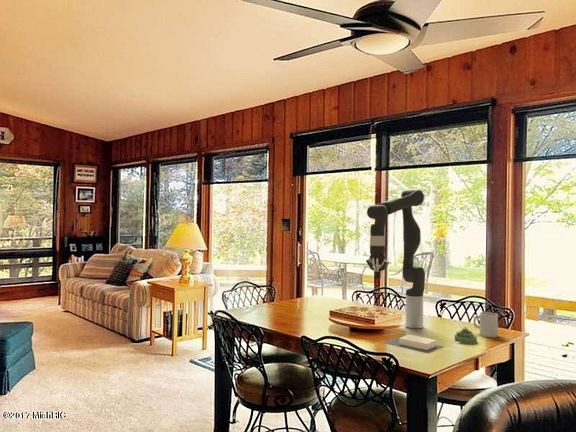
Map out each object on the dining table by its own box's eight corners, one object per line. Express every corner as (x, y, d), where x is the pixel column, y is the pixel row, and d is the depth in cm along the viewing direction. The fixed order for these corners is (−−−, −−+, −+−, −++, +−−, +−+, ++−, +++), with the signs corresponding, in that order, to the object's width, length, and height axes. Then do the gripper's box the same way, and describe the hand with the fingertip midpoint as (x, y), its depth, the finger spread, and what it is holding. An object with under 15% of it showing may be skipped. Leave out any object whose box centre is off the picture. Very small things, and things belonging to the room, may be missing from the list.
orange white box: (399, 338, 216) (426, 343, 206) (409, 334, 222) (436, 340, 212) (399, 344, 216) (426, 350, 206) (409, 341, 222) (436, 346, 212)
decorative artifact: (480, 341, 224) (461, 337, 231) (480, 327, 224) (461, 323, 231) (470, 345, 217) (450, 341, 225) (470, 330, 217) (450, 326, 225)
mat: (381, 344, 219) (381, 342, 219) (398, 338, 230) (398, 336, 230) (428, 354, 202) (428, 353, 202) (444, 347, 213) (444, 346, 213)
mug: (500, 335, 235) (500, 313, 235) (494, 338, 229) (494, 316, 229) (476, 331, 244) (476, 310, 244) (470, 334, 237) (470, 312, 237)
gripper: (392, 244, 231) (392, 279, 231) (370, 243, 240) (370, 277, 240) (384, 245, 226) (384, 281, 226) (362, 244, 235) (362, 278, 235)
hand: (377, 278), depth 233 cm, fingers closed
